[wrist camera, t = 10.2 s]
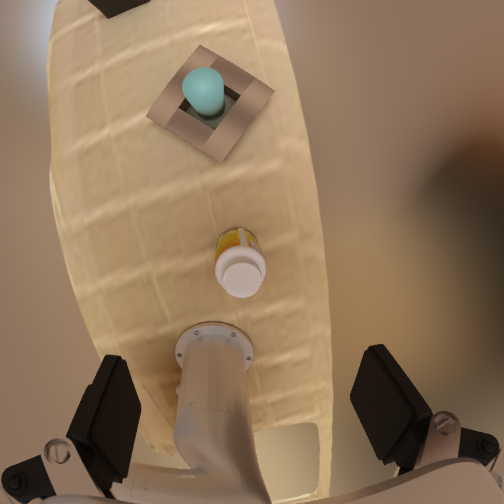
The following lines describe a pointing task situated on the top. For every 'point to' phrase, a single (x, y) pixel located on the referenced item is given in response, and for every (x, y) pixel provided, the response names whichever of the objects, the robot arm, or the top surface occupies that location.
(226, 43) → the top surface
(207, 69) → the dowel
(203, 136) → the socket block
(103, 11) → the battery charger
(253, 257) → the supplement bottle
